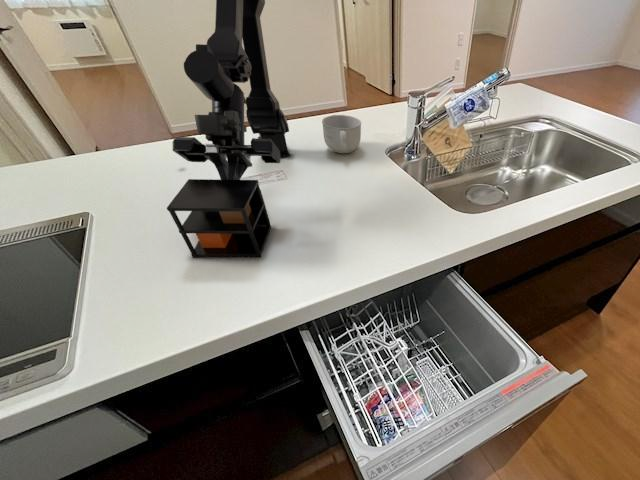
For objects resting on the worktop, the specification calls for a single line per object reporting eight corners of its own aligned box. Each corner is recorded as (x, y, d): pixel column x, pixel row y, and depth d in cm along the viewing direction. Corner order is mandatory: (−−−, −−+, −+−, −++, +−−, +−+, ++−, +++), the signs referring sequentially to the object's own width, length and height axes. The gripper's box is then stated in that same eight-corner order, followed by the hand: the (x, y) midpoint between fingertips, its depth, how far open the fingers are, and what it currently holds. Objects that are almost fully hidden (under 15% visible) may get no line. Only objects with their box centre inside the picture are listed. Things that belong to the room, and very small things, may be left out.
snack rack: (209, 227, 74) (188, 179, 66) (271, 227, 74) (257, 179, 66) (192, 257, 67) (166, 208, 59) (260, 257, 67) (243, 208, 59)
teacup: (328, 140, 105) (325, 112, 100) (364, 142, 106) (362, 114, 100) (320, 161, 96) (316, 131, 90) (359, 163, 96) (357, 133, 90)
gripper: (152, 89, 60) (153, 179, 60) (261, 92, 60) (262, 181, 61) (188, 121, 71) (189, 197, 71) (280, 123, 72) (281, 198, 72)
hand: (229, 193), depth 68 cm, fingers closed, pressing on snack rack
